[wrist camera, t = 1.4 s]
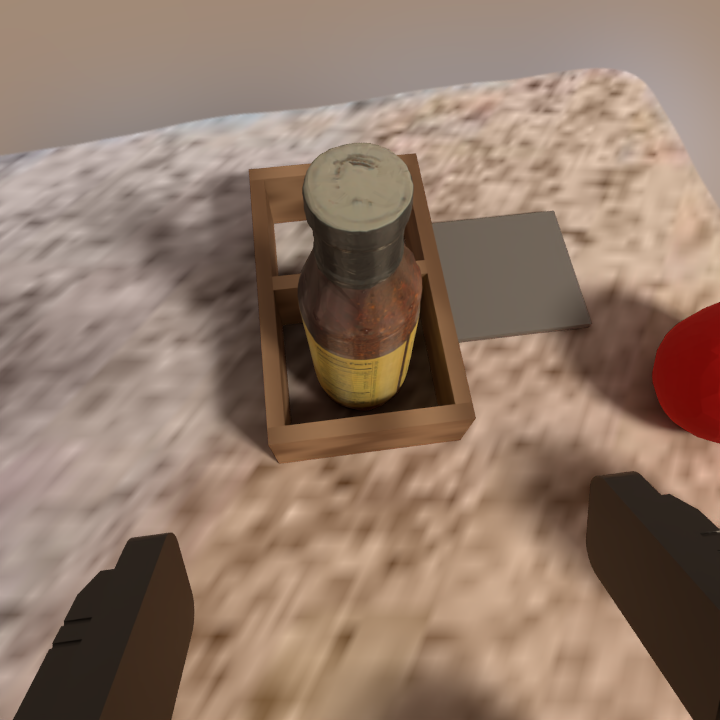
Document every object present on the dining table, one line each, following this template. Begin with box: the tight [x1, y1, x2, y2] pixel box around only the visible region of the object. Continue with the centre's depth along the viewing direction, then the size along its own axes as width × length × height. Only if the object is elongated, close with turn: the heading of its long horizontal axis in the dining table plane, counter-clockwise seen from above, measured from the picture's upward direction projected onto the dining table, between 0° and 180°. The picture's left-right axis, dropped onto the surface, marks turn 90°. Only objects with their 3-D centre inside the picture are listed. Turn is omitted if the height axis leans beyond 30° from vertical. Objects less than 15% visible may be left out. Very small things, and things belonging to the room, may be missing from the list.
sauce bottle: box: [298, 143, 422, 411], centre depth 28 cm, size 7×6×20 cm
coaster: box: [432, 211, 592, 343], centre depth 41 cm, size 10×10×1 cm
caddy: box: [249, 153, 476, 464], centre depth 37 cm, size 12×20×5 cm, turn 8°
